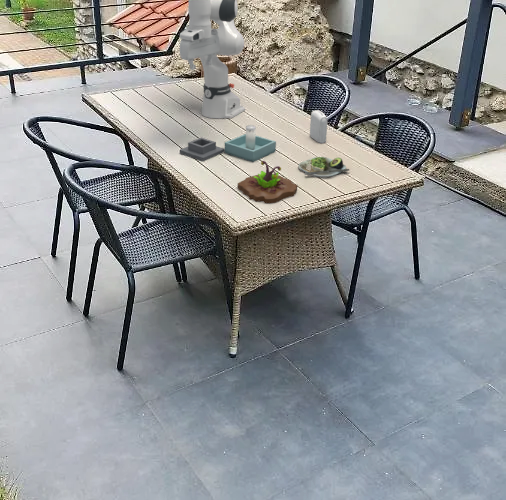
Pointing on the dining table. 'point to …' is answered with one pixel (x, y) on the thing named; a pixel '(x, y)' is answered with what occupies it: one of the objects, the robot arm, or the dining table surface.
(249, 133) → the cylinder
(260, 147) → the parts tray
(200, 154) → the grey square socket
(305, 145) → the dining table surface
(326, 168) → the salad plate
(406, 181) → the dining table surface
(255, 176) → the plant
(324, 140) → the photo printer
